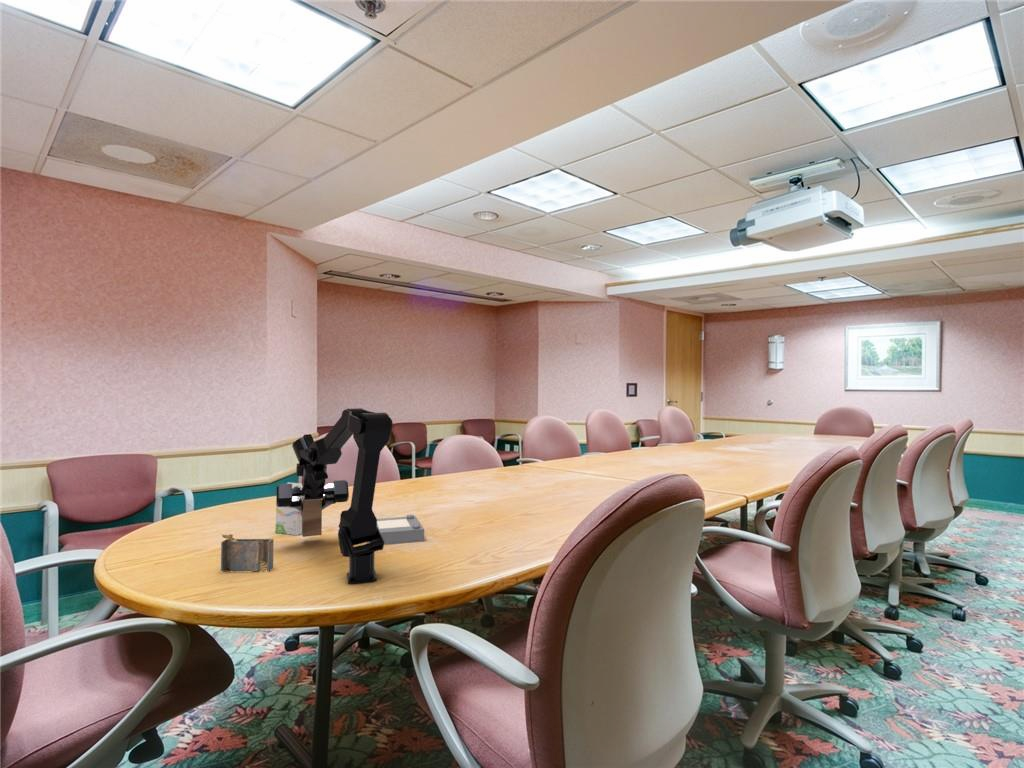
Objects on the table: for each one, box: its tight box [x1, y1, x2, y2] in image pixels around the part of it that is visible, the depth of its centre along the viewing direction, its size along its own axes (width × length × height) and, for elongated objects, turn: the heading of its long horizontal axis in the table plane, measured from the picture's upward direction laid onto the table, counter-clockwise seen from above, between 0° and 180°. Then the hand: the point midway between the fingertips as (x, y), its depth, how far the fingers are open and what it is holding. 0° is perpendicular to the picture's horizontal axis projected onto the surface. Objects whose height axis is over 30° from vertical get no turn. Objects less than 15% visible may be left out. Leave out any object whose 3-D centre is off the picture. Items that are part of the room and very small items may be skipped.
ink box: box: [275, 481, 303, 536], centre depth 161 cm, size 9×5×15 cm, turn 71°
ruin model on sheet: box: [220, 533, 275, 573], centre depth 128 cm, size 11×3×10 cm, turn 92°
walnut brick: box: [301, 499, 323, 538], centre depth 150 cm, size 5×5×10 cm
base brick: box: [366, 514, 425, 545], centre depth 158 cm, size 16×16×4 cm
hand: (311, 509), depth 152 cm, fingers closed on walnut brick, 5 cm apart
